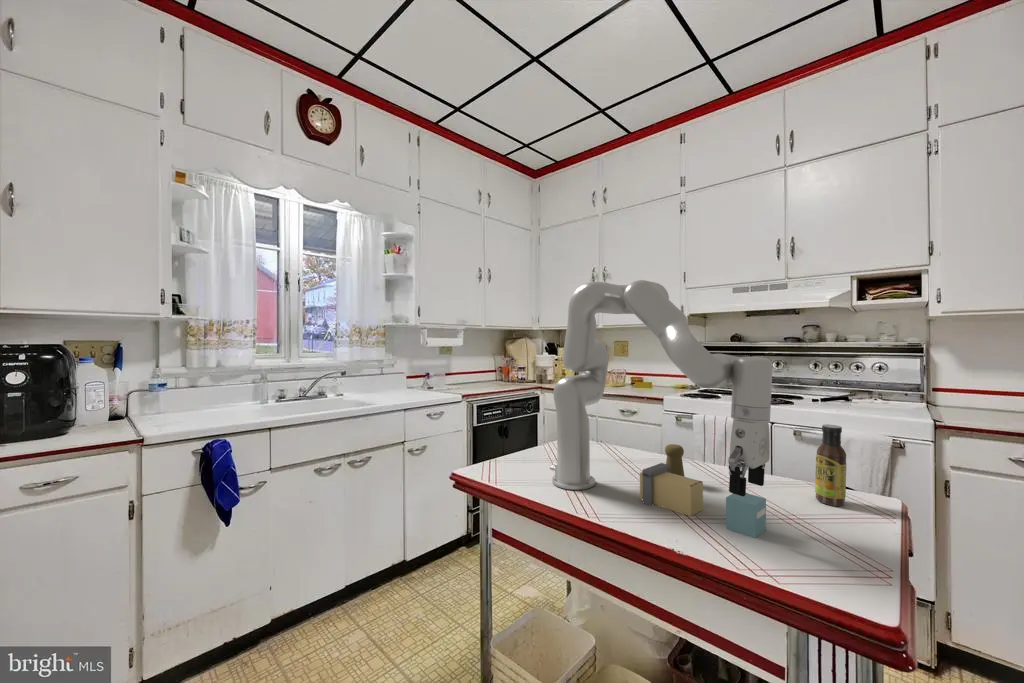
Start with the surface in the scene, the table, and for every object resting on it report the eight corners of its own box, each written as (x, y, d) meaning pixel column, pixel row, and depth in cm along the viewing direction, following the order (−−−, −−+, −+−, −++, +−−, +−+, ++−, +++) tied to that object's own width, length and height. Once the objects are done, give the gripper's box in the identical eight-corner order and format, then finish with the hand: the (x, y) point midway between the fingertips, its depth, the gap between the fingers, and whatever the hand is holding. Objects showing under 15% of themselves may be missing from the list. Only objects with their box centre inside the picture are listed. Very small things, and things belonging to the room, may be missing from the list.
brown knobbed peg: (681, 478, 127) (681, 442, 127) (688, 485, 121) (688, 447, 121) (661, 478, 128) (661, 442, 127) (666, 485, 122) (666, 447, 121)
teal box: (726, 528, 94) (726, 497, 94) (737, 520, 98) (737, 490, 98) (755, 538, 89) (755, 505, 89) (766, 529, 93) (766, 498, 93)
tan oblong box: (636, 500, 111) (636, 468, 110) (655, 492, 116) (655, 461, 116) (687, 518, 100) (687, 481, 100) (705, 508, 105) (705, 473, 105)
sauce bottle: (809, 498, 111) (809, 423, 110) (829, 497, 112) (829, 422, 111) (831, 508, 104) (831, 428, 104) (853, 506, 105) (852, 427, 105)
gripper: (752, 421, 84) (748, 504, 85) (783, 411, 95) (780, 485, 96) (714, 414, 90) (711, 492, 91) (748, 405, 101) (745, 475, 102)
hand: (746, 489), depth 93 cm, fingers open, 9 cm apart
